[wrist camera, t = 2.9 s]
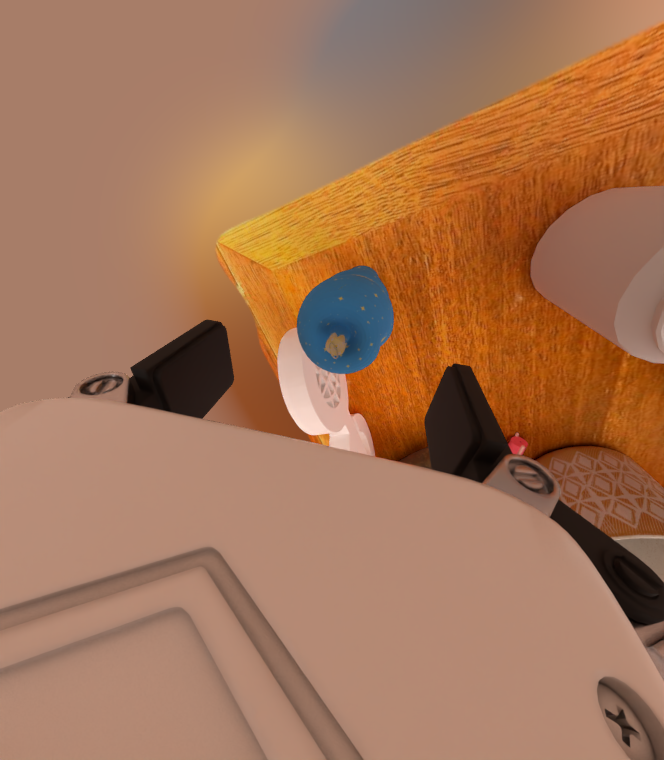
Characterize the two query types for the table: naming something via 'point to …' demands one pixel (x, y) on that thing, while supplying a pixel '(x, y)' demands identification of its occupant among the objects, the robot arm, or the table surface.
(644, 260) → the can
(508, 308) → the table surface
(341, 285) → the ornament
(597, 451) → the planter
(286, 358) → the pink double disc plate
